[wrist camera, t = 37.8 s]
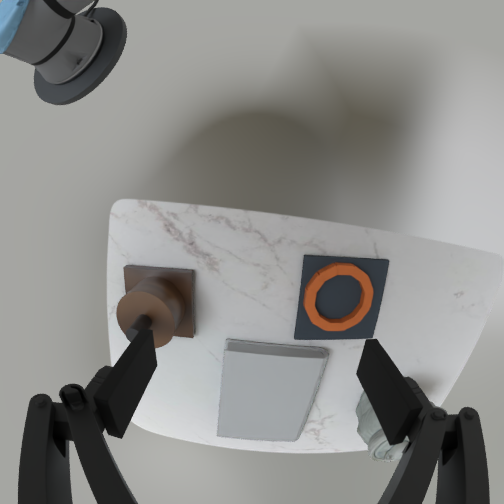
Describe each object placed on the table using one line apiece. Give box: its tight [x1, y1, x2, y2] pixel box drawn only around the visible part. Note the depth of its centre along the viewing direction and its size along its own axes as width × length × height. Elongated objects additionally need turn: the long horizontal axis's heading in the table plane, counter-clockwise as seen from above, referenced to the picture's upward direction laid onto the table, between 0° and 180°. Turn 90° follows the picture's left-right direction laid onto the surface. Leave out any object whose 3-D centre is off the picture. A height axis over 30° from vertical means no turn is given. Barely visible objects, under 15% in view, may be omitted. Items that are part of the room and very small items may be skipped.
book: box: [217, 339, 329, 442], centre depth 49 cm, size 18×4×24 cm
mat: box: [294, 255, 389, 340], centre depth 45 cm, size 15×15×1 cm
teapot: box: [356, 391, 448, 462], centre depth 42 cm, size 16×15×19 cm
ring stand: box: [117, 265, 195, 348], centre depth 40 cm, size 12×12×12 cm
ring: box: [303, 262, 374, 331], centre depth 44 cm, size 12×12×2 cm
